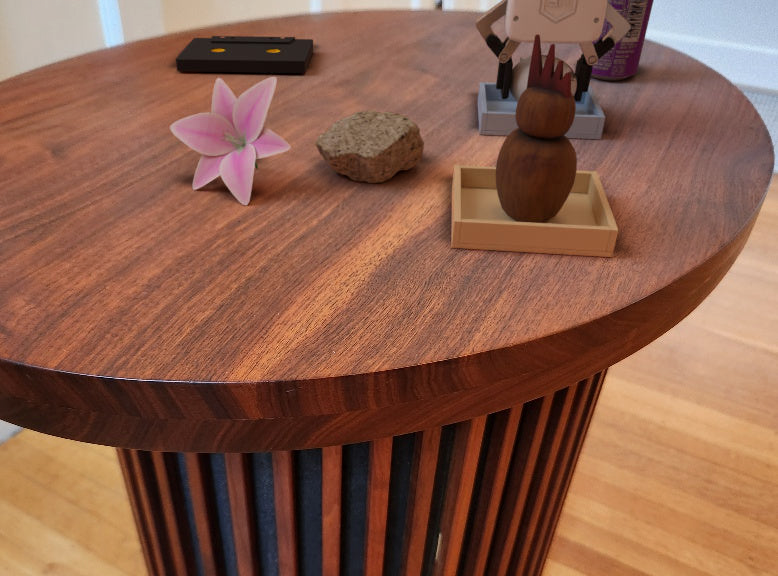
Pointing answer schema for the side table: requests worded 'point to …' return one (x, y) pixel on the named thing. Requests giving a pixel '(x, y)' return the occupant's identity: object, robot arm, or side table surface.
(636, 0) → the beverage can
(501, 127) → the blue tray
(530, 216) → the wooden figurine
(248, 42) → the cassette tape
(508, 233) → the birch tray
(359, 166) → the rock
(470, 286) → the side table surface
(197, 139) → the lily
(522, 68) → the beige smooth oval piece
